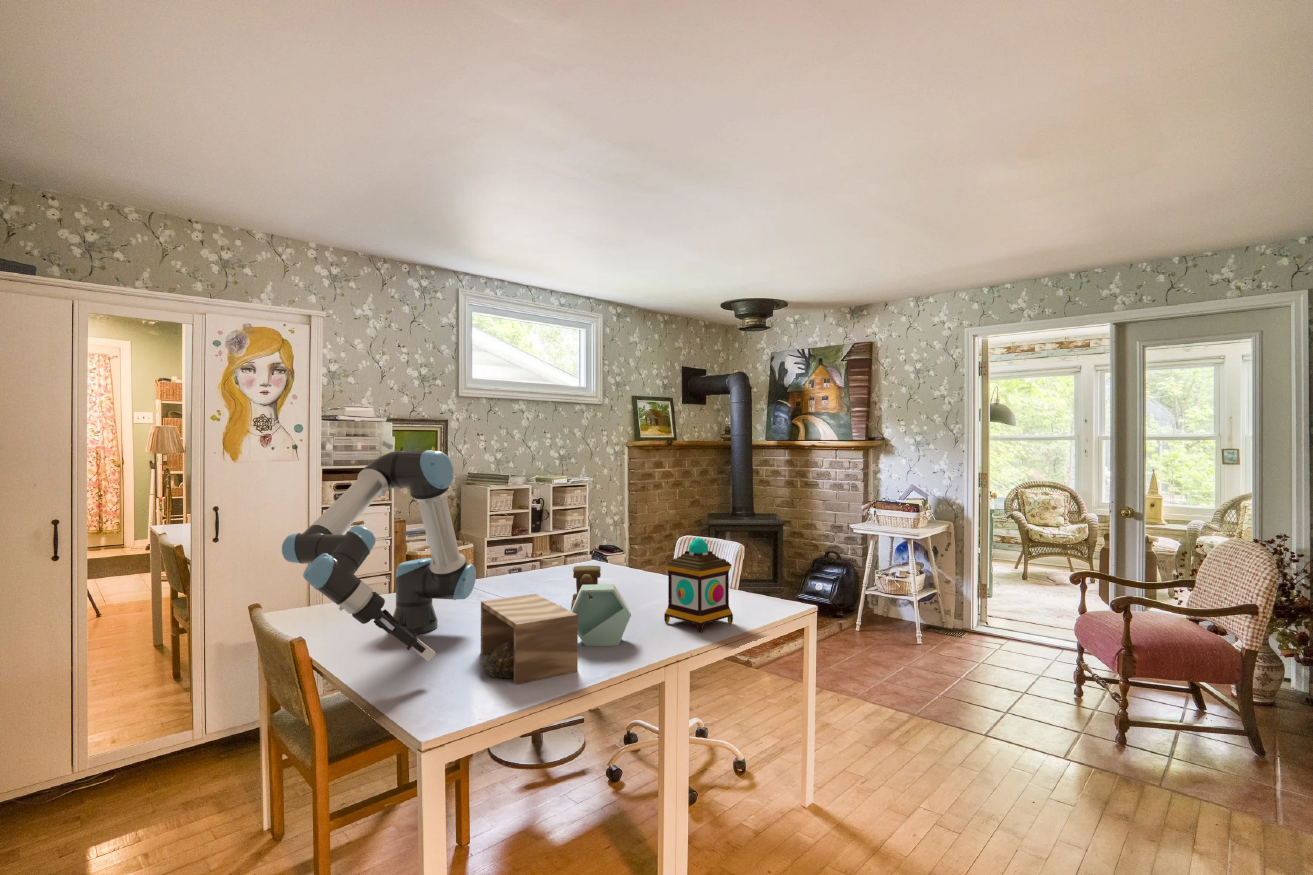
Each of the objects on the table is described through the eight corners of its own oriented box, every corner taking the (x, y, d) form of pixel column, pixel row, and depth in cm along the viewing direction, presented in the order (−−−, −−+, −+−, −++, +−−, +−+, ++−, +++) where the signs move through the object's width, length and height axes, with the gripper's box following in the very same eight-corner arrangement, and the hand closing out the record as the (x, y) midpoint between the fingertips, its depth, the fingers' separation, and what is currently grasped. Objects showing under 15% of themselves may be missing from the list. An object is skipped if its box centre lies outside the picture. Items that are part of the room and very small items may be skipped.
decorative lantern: (658, 623, 220) (658, 537, 221) (696, 613, 234) (696, 532, 234) (700, 635, 205) (700, 543, 206) (738, 623, 219) (738, 537, 220)
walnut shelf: (480, 653, 188) (480, 601, 188) (535, 643, 197) (535, 593, 197) (516, 684, 162) (516, 624, 163) (577, 671, 172) (577, 614, 172)
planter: (595, 660, 194) (558, 605, 194) (595, 652, 202) (560, 599, 201) (640, 629, 196) (604, 574, 195) (639, 622, 203) (604, 569, 203)
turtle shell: (469, 660, 165) (498, 624, 184) (472, 691, 166) (501, 653, 186) (528, 661, 163) (551, 625, 182) (531, 693, 164) (554, 654, 184)
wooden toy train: (572, 609, 240) (572, 565, 240) (602, 608, 241) (602, 564, 241) (569, 623, 220) (569, 575, 220) (602, 622, 221) (602, 575, 221)
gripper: (347, 609, 160) (415, 661, 169) (354, 621, 149) (427, 676, 158) (369, 585, 163) (435, 638, 172) (378, 595, 152) (448, 651, 161)
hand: (431, 656), depth 165 cm, fingers closed
